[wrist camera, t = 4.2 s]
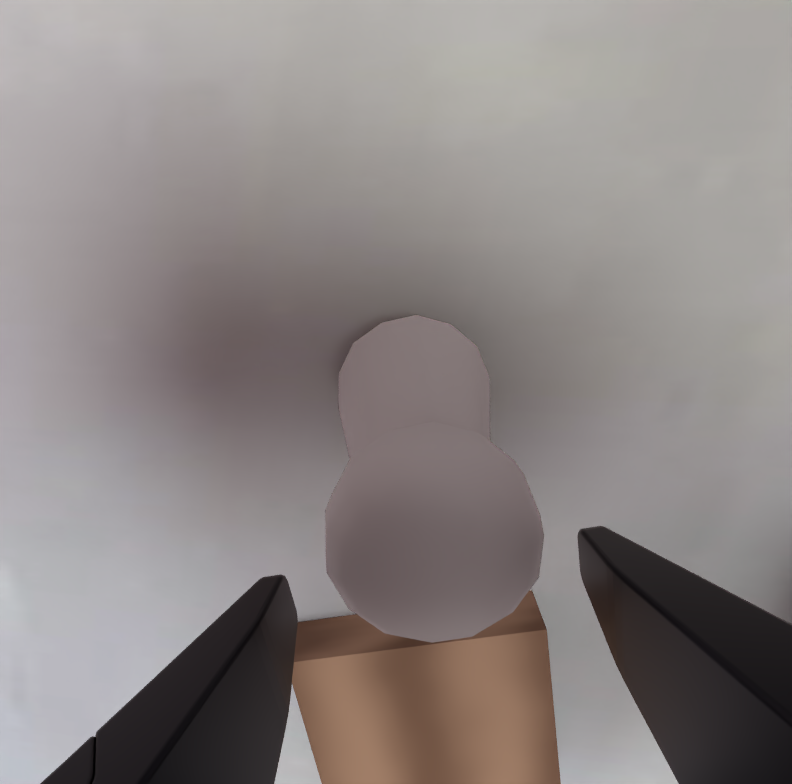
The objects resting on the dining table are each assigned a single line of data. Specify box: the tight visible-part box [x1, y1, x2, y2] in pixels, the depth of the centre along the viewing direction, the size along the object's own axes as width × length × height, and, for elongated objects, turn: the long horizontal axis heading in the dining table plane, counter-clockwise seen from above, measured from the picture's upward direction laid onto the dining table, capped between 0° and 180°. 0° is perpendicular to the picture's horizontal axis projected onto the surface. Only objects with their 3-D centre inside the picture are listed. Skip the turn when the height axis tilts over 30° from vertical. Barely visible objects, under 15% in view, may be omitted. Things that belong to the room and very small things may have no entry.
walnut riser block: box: [292, 591, 561, 784], centre depth 26 cm, size 12×12×3 cm
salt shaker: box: [325, 315, 544, 643], centre depth 15 cm, size 6×6×13 cm
